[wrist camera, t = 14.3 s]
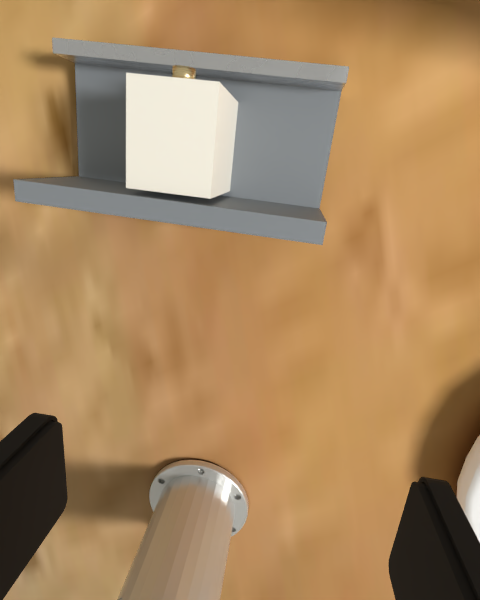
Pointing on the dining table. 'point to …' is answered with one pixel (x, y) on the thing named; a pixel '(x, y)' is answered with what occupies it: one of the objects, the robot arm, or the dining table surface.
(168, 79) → the cabinet block
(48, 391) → the dining table surface
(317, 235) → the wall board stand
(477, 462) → the plate
